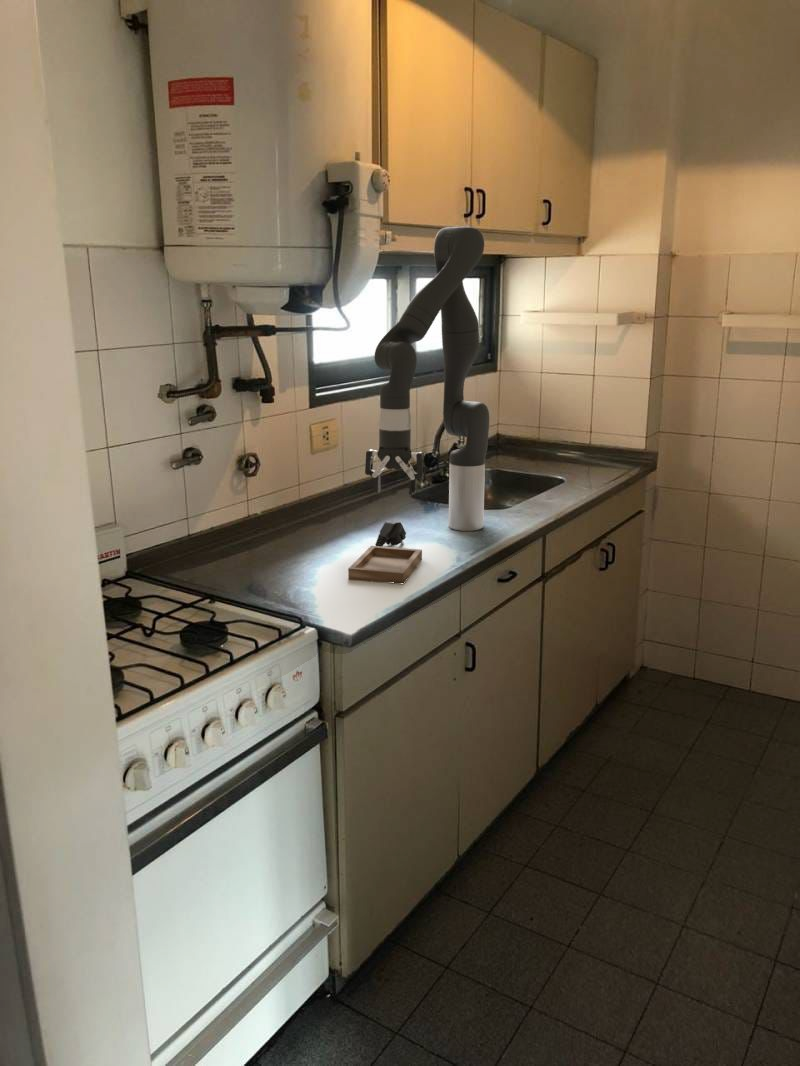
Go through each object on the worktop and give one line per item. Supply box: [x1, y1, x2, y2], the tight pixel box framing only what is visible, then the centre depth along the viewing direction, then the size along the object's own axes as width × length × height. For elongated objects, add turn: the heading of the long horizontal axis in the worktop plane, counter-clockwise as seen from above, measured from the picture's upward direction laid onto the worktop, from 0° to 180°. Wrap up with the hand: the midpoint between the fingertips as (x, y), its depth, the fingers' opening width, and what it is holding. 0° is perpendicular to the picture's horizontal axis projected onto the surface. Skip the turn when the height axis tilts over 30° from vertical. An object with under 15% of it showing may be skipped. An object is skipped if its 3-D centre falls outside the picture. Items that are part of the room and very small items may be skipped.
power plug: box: [374, 520, 407, 547], centre depth 207 cm, size 6×8×12 cm
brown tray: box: [347, 545, 423, 584], centre depth 192 cm, size 17×12×2 cm
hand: (394, 493), depth 206 cm, fingers open, 8 cm apart
